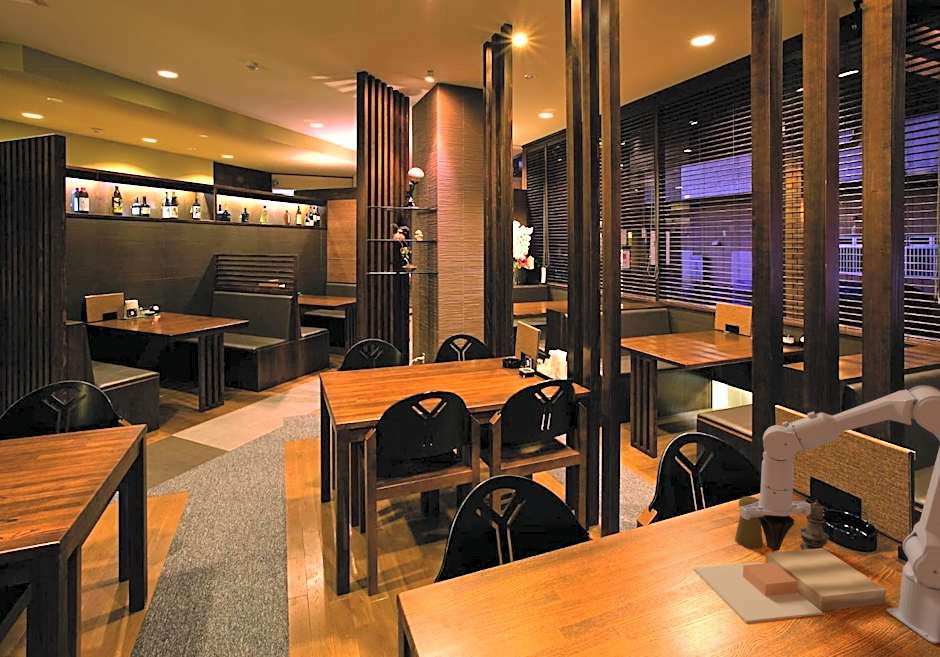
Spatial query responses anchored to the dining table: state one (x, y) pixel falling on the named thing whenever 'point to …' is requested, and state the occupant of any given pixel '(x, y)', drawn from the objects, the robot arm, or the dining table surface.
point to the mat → (753, 596)
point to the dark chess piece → (814, 529)
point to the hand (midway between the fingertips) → (773, 548)
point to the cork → (749, 527)
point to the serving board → (828, 579)
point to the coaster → (769, 579)
